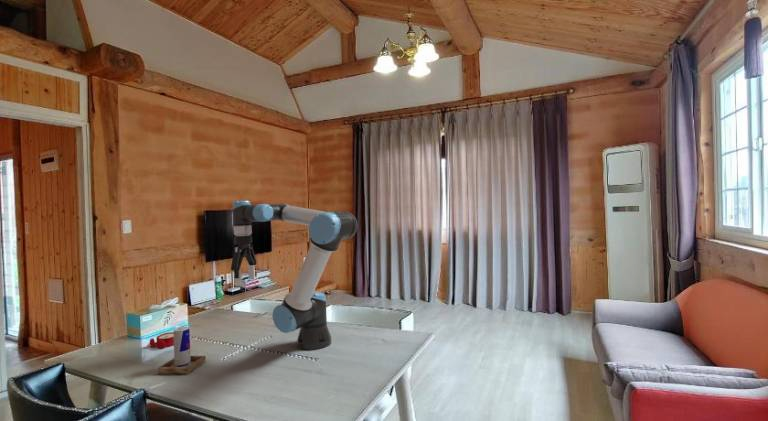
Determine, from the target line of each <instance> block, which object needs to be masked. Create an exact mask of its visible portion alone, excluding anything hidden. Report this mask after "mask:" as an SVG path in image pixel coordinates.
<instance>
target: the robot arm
mask: <svg viewBox="0 0 768 421" xmlns="http://www.w3.org/2000/svg"><path fill="white" fill-rule="evenodd" d="M232 220H233V228H232V229H233V235H234V236H233V238H234V239H233V240H234V241H233V242H234V243H233V244H234V245H237V246H235V247H233V255H232V260H231V265H230V271H231V272H233V277H234V279H233V280H234V286H235V287H237V286H242V270H241V268H242V267H241V266H242V263H243V260H244V258H245V259H246V262H247V263H248V265H247V268H248V269H247V272H248V280H256V275H255V274H256V273H255V271H256V270H255V266H256V265H257V257H256V254H255V251H254V244H252V243H253V236H252V234H253V231H252V222H254V223H255V222H256V223H257V222H260V223H263V222H264V223H265V222H270V221H281V222H282V221H283V222H286V223H292V224H295V225H302V226H308V232H309V239H308V240H309V242H310V247H309V249H308V251H307V254H306V255H305V258H304V260H303V263H302V266H301V268H300V270H299V272H298V274H297V277H296V280H295V282H294V284H293V287H292V288H291V291H290V292H287V293H286V294H285V296H284V298H283V301H282V303H281V304H277V306H275V307H274V308H273V310H272V314H271V315H272V320H273V324H274V326H275V327H276V329H278V330H279V331H280V332H281V333H283V334H288V333H292V332H293V333H294V332H295V331H296V330H298V329H299V332H298V335H297V339H296V344H297V345H296V346H297V348H299V349H302V350H307V351H309V350H310V351H311V350H318V349H319V350H320V349H323V348H326V347H329V346H330V345H331V344H332V336H331V333H330V331H329V330H330V329H329V326H328V322H327V321H328V320H327V318H328V317H327V297H326V294H325V293H324V292H321V291H315V290H316V288H317V286H318V284H319V282H320V279H321V277H322V275H323V273H324V270H325V269H326V266H327V264H328V262H329V260H330V257H331V255H332V253H334V252H336V251H338V248H339V246H340V244H341V241H346V240H349V239H351V238H353V236H355V234H356V233H357V231H358V227H359V225H358V220H357V218H356V217H355V215H354V214H353V213H350V212H349V211H339V210H334V211H322V210H319V209H311V208H306V207H305V208H304V207H302V206H301V207H300V206H299V207H298V206H293V205H289V203H258V204H251V201H249V200H235V201H233V202H232Z"/></svg>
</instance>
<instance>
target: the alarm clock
mask: <svg viewBox="0 0 768 421" xmlns="http://www.w3.org/2000/svg"><path fill="white" fill-rule="evenodd" d="M173 332H174V331H169V332H165V333H161V334H159V335H157V336H156V338H155V339H156V341H155V339H154V338H150V340H149V343H148V344H147V345H146V347H149V348H151V349H152V348H157V349H158V350H164V349H165V348H168V347H172V346H173V347H174V335H173Z"/></svg>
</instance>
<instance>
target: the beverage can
mask: <svg viewBox="0 0 768 421" xmlns="http://www.w3.org/2000/svg"><path fill="white" fill-rule="evenodd" d="M172 332H173V335H174V345H173V358H174V364H175V367H188V366H189V365H190V364H191V358H190V356H191V336H190V335H191V333H190V332H191V331H190V327H189V326H188V325H187V326H186V325H185V326H178V327H175V328H174V329H173V331H172Z"/></svg>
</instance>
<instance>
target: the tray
mask: <svg viewBox="0 0 768 421" xmlns="http://www.w3.org/2000/svg"><path fill="white" fill-rule="evenodd" d="M206 356H207V355H190V358H191V364H190V365H189V366H188V367H175V364H174V357H173V358H171V359H170V360H169V361H167V362H166V363H164V364H162V365H161V366H159V367H158V368H157V375H162V376H163V375H164V376H165V375H169V376H170V375H171V376H172V375H173V376H174V375H177V376H178V375H182V376H184V375H185V376H188V375H190V374H191V373H192V372H194V371H195V370H197V368H199V367H201V366H202V365H203V364H204V363H206V362H207V361H206V360H207V358H206Z"/></svg>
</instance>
